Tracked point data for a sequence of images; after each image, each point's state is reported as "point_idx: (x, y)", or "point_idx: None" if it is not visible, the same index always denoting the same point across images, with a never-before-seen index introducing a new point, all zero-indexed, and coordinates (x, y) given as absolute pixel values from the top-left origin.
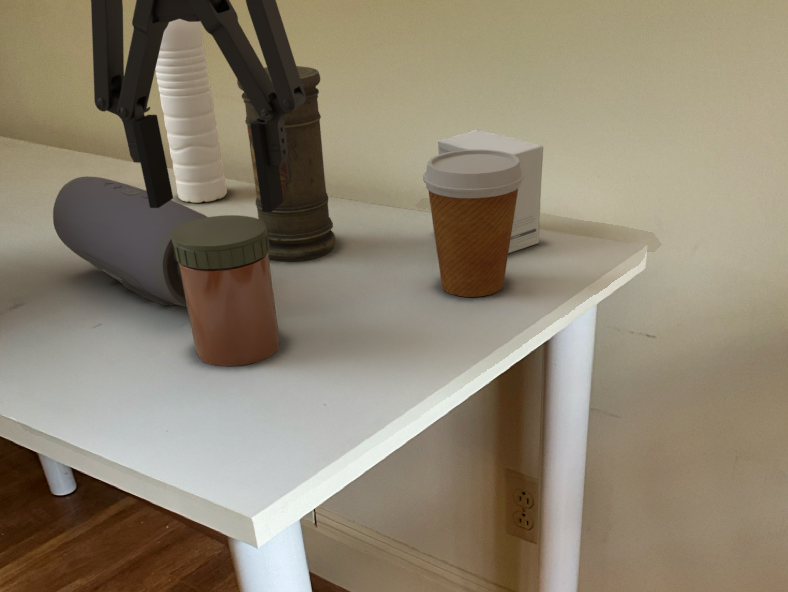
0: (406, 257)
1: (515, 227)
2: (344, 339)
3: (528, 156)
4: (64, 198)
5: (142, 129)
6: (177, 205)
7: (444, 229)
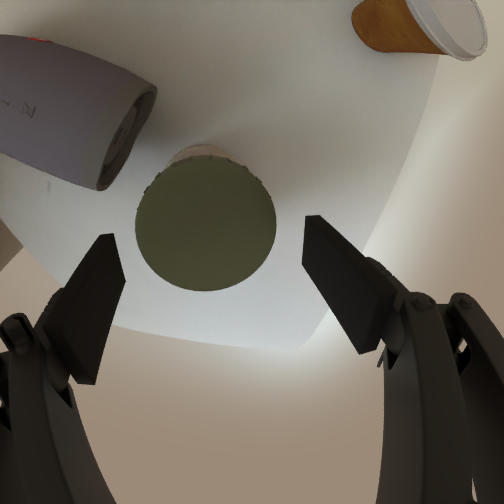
0: None
1: None
2: (298, 145)
3: None
4: None
5: (97, 373)
6: (53, 98)
7: (403, 38)
